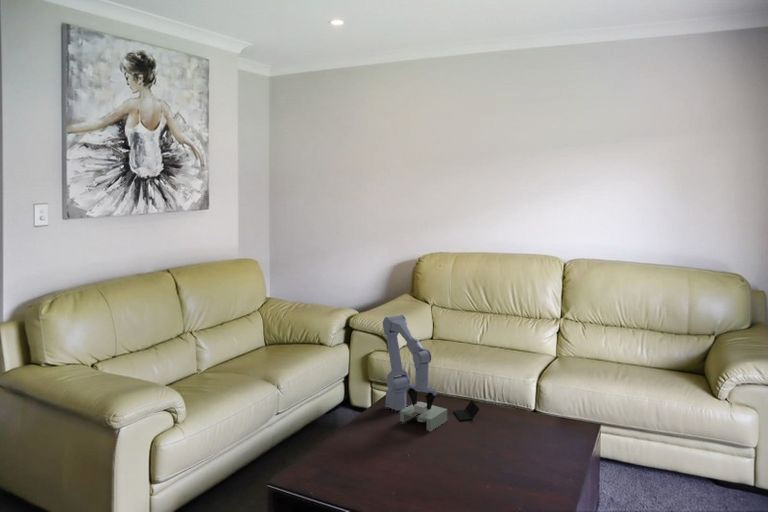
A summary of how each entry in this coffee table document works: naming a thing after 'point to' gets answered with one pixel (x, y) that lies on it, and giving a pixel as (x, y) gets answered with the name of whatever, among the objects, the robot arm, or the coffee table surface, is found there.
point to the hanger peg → (421, 410)
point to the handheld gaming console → (467, 412)
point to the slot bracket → (426, 416)
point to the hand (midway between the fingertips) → (421, 407)
